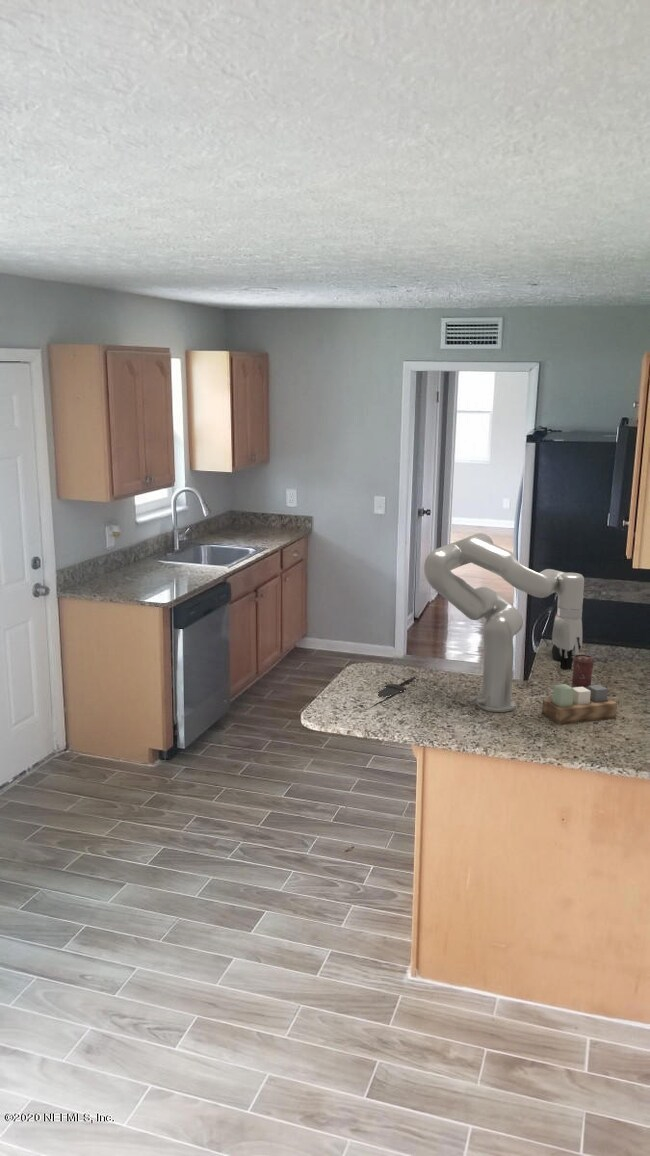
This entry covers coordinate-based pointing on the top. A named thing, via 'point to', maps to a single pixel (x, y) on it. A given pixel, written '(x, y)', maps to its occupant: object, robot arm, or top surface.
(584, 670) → the can
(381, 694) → the black spatula
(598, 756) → the top surface
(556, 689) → the key sage
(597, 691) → the key charcoal
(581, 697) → the key ivory
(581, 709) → the brown wooden block rack
